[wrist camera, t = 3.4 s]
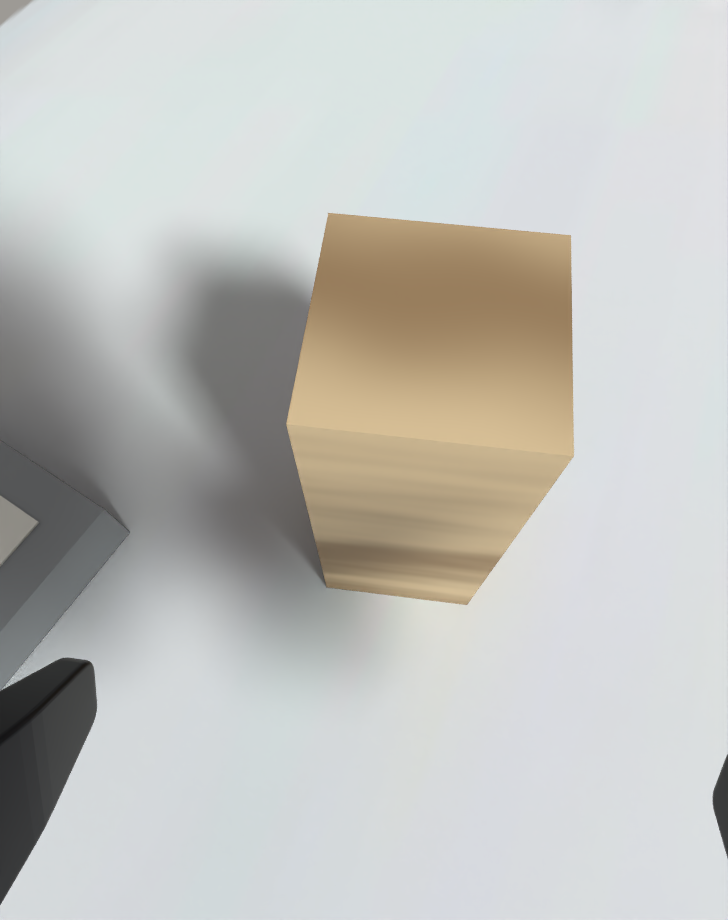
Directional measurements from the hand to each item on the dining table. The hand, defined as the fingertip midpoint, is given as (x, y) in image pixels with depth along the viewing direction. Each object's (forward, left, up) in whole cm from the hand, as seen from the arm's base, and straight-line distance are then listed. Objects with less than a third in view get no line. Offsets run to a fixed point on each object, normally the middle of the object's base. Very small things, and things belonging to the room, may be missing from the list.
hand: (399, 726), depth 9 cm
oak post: (+3, -7, -13) cm, 15 cm away
